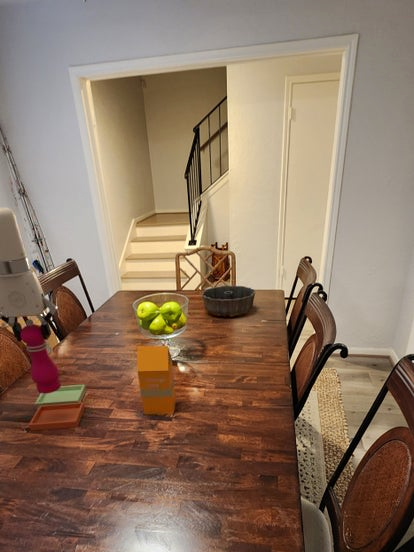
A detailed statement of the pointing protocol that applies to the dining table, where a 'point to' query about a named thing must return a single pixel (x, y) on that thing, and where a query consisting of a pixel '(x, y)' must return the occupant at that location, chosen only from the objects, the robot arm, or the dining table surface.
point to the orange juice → (156, 379)
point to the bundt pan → (228, 300)
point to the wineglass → (50, 352)
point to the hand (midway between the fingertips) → (34, 338)
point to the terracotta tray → (57, 416)
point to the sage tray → (62, 396)
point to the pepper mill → (40, 359)
